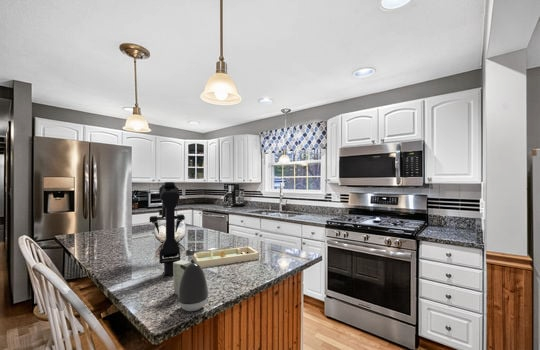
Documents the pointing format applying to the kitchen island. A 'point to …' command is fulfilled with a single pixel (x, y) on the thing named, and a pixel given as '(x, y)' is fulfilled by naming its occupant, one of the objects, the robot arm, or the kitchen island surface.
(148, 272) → the kitchen island surface
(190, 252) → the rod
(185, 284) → the pump dispenser
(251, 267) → the kitchen island surface
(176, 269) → the skincare box
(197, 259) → the tray
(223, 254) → the ball
